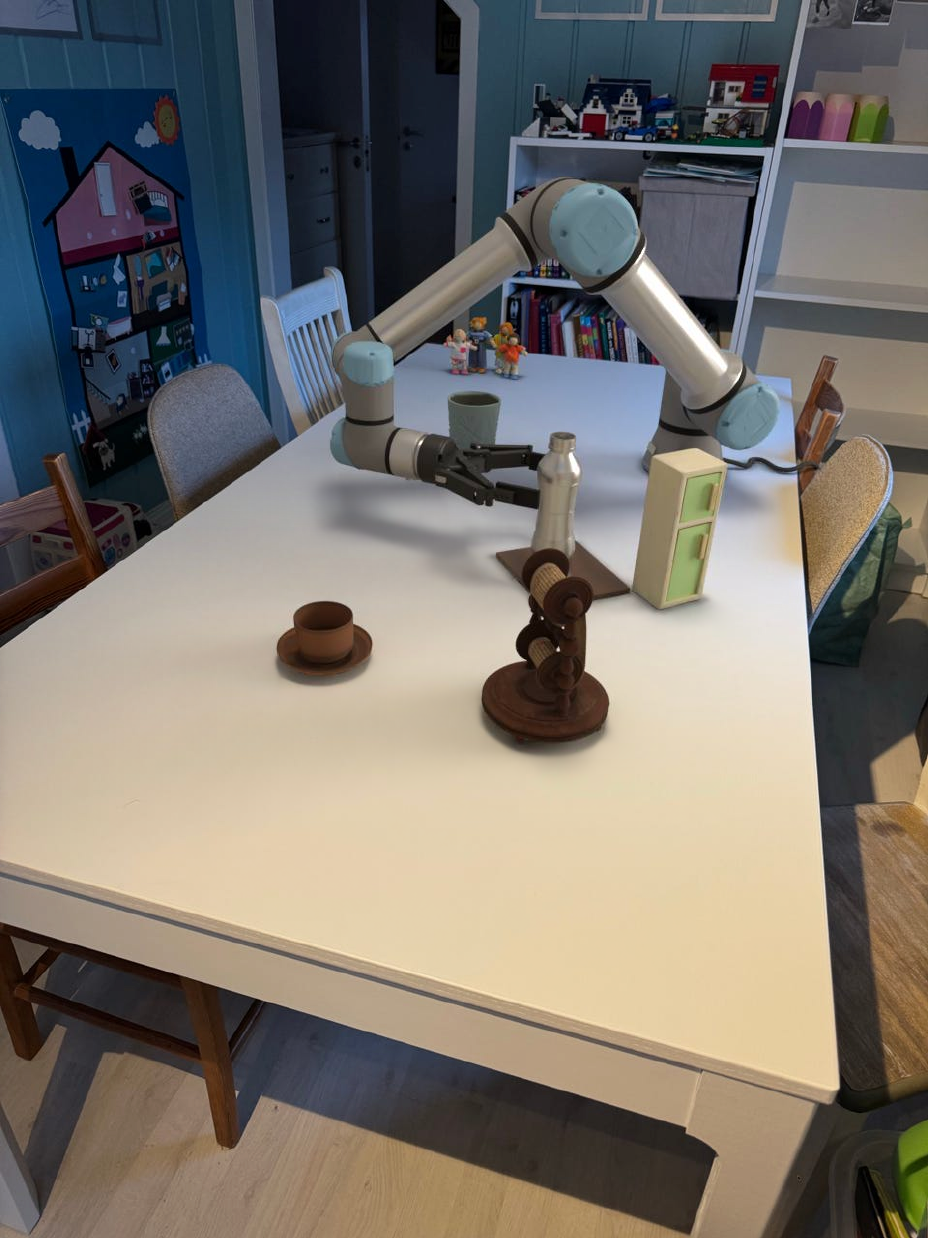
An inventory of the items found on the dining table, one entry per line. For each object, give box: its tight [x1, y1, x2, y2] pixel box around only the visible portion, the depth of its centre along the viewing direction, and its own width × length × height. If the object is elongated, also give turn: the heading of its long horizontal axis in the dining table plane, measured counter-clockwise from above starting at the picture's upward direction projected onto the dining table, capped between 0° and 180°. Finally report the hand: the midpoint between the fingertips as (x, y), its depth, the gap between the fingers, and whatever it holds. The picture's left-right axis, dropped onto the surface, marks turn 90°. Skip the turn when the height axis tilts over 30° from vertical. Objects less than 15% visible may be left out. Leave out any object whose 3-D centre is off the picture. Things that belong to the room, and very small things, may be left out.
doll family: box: [443, 316, 528, 380], centre depth 223 cm, size 21×10×13 cm, turn 80°
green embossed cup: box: [447, 390, 502, 450], centre depth 171 cm, size 10×10×12 cm
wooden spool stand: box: [481, 548, 610, 746], centre depth 99 cm, size 15×15×20 cm
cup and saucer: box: [275, 600, 374, 676], centre depth 111 cm, size 12×12×6 cm
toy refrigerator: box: [631, 448, 728, 610], centre depth 123 cm, size 8×7×21 cm
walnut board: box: [495, 539, 631, 601], centre depth 133 cm, size 14×17×1 cm
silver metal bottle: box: [530, 431, 583, 561], centre depth 130 cm, size 6×7×20 cm
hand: (555, 483), depth 129 cm, fingers open, 13 cm apart
